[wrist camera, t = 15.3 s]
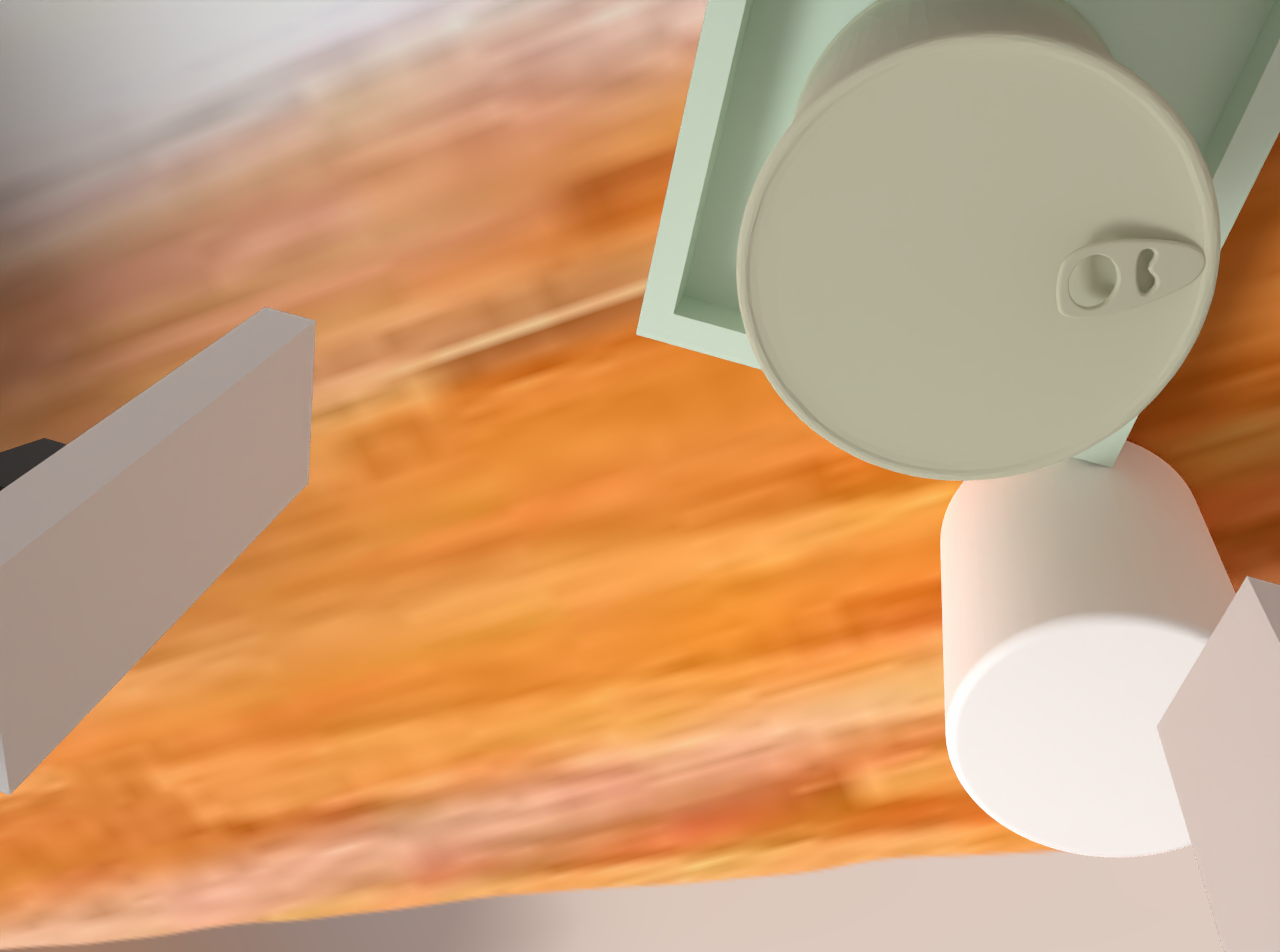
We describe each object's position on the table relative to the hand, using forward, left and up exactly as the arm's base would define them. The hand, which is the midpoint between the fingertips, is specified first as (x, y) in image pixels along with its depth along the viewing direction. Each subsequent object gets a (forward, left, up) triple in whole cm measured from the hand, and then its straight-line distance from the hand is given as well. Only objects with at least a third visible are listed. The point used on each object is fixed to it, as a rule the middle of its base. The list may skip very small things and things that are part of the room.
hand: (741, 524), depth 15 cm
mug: (+12, -11, -21) cm, 27 cm away
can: (+3, +2, -20) cm, 20 cm away
